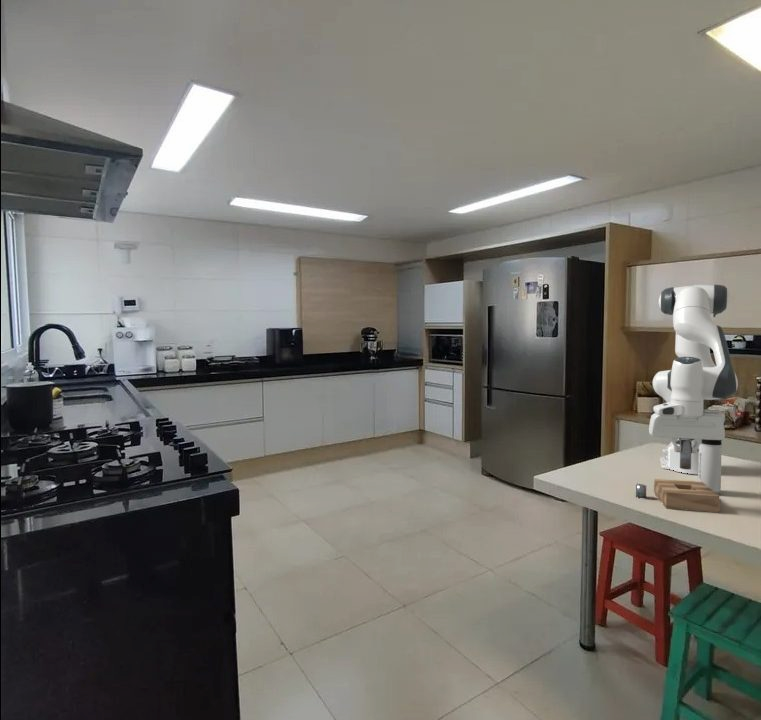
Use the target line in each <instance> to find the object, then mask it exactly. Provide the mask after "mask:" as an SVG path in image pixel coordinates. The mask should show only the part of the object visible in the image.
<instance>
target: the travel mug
mask: <svg viewBox="0 0 761 720" xmlns="http://www.w3.org/2000/svg"><path fill="white" fill-rule="evenodd" d="M722 445H723V443H722V440H705V439H702V443H701V444H700V446H699V470H698V474H697V476H698V479H697V480H698V481H697V482H703V483H704V484H705V485H707V486H708V487H709V488H710V489H711V490H713V491H714V492H715V493H716V494H717V495H719V496H720V495H721V492H722V490H721V487H722V486H721V485H722V481H721V480H722V451H723V450H722V449H723V448H722Z"/></svg>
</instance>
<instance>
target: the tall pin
mask: <svg viewBox="0 0 761 720" xmlns="http://www.w3.org/2000/svg"><path fill="white" fill-rule="evenodd" d="M691 446H692V440H689V439H680V447H681V452H680V468H681V469H691Z"/></svg>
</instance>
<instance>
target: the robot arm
mask: <svg viewBox="0 0 761 720" xmlns="http://www.w3.org/2000/svg"><path fill="white" fill-rule="evenodd" d="M730 300H731V296H730V293H729V290H728V288H727V287H726V286H725V285H724V284H723V285H722V284H714V285H712V284H693V285H684V286H677V287H673V286H672V287H667V288H665V289H663V290H662V291H661V294H659V297H658V306H659V308H660V311H661V312H662V313H663V314H664V315H669V316H672V325H673V330H674V331H675V342H674V343H675V344H674V345H675V346H674V353H675V355H676V356H677V358H674V360H673V361H672V366H671V369H668V370H661V371H658V372H656V373H655V375H654V376H653V379H652V389H653V390H654V392H655V393H656V394H657V395H658V396H659V397H661V398H662V399H663V400H664V401H665V402H664V403H661V404H657V405H654V406H653V409H652V410H653V412H654V413H653V414H652V415H651V416H650V419H649V425H648V433H649V434H650V436H651V437H653V438H666V439H669V441H670V443H668V445H667V446H666V448H665V449H664V448H663V449H662V451H661V453H662V455H663V456H660V457H659V462H661V463H660V466H661V468H662V469H664V470H669V469H670V470H671V471H673V470H674V472H678V473H681V472H682V474H687V473H688V474H689V475H698V470H699V446H700V444H701V443H702V439H705V440H724V439H725V438H726V432H725V431H726V430H725V429H726V428H725V421H726V415H725V413H724V412H723V411H720V410H719V409H705V408H704V400H706V401H707V400H708V401H712V400H713V401H714V400H715V401H716V400H726V399H729V398H731V397H732V396H734V395H735V394H737V390H738V386H739V380H738V376H737V375H736V372H735V370H734V367H733V366H734V365H733V363H732V359H731V354H730V351H729V346H728V343H727V339H726V335H725V332H724V330H723V328H722V327H721V326H720V325H718V324H716V323H715V322H714V320H713V319H712V317H711V316H713V318H715V317H716V316H717V315H719V314H722V313H723V312H724V311H726V310H727V307H728V305H730ZM711 350H712V351H713V355H714V360H713V359H712V355H711ZM714 361H715V363H714ZM680 439H689V440H692V446H691V469H681V468H680V452H681V447H680Z"/></svg>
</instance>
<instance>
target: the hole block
mask: <svg viewBox="0 0 761 720" xmlns="http://www.w3.org/2000/svg"><path fill="white" fill-rule="evenodd" d="M653 482H654V483H653V486H654V487H653V494H654V493H655V494H654V495H655V496H656V498H657V497H658V498H659V499H658V498H657V499H658V500H659V501H660V503H661V502H662V503H663V504H662V503H661V504H662V505H663V506H664V508H665V507H666V509H668V508H672V509H671V510H680V509H685V510H684V511H693V510H696V511H695V512H705V511H709V512H708V513H718V512H719V513H720V494H719V495H717V494H716V493H715V492H714V491H713V490H711V489H710V488H709V487H708V486H707V485H705V484H704V483H703V482H698V481H697V480H695V481H693V480H678V479H677V480H676V479H664V478H663V479H662V478H654V479H653ZM686 509H687V510H686Z"/></svg>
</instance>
